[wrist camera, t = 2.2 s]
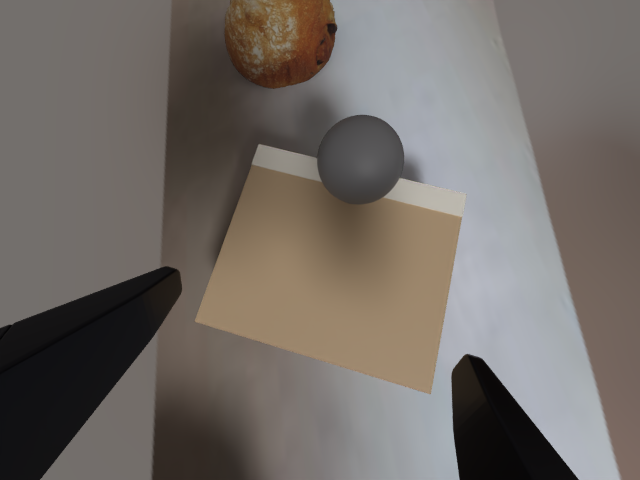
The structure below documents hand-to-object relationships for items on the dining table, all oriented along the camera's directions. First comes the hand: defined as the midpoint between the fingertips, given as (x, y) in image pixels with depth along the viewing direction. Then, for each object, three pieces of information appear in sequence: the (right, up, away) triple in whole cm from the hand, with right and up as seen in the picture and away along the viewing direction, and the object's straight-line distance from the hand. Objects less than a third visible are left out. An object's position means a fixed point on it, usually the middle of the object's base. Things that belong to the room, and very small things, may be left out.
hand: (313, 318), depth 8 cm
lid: (+1, +1, +9) cm, 9 cm away
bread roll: (-3, +21, +19) cm, 29 cm away
